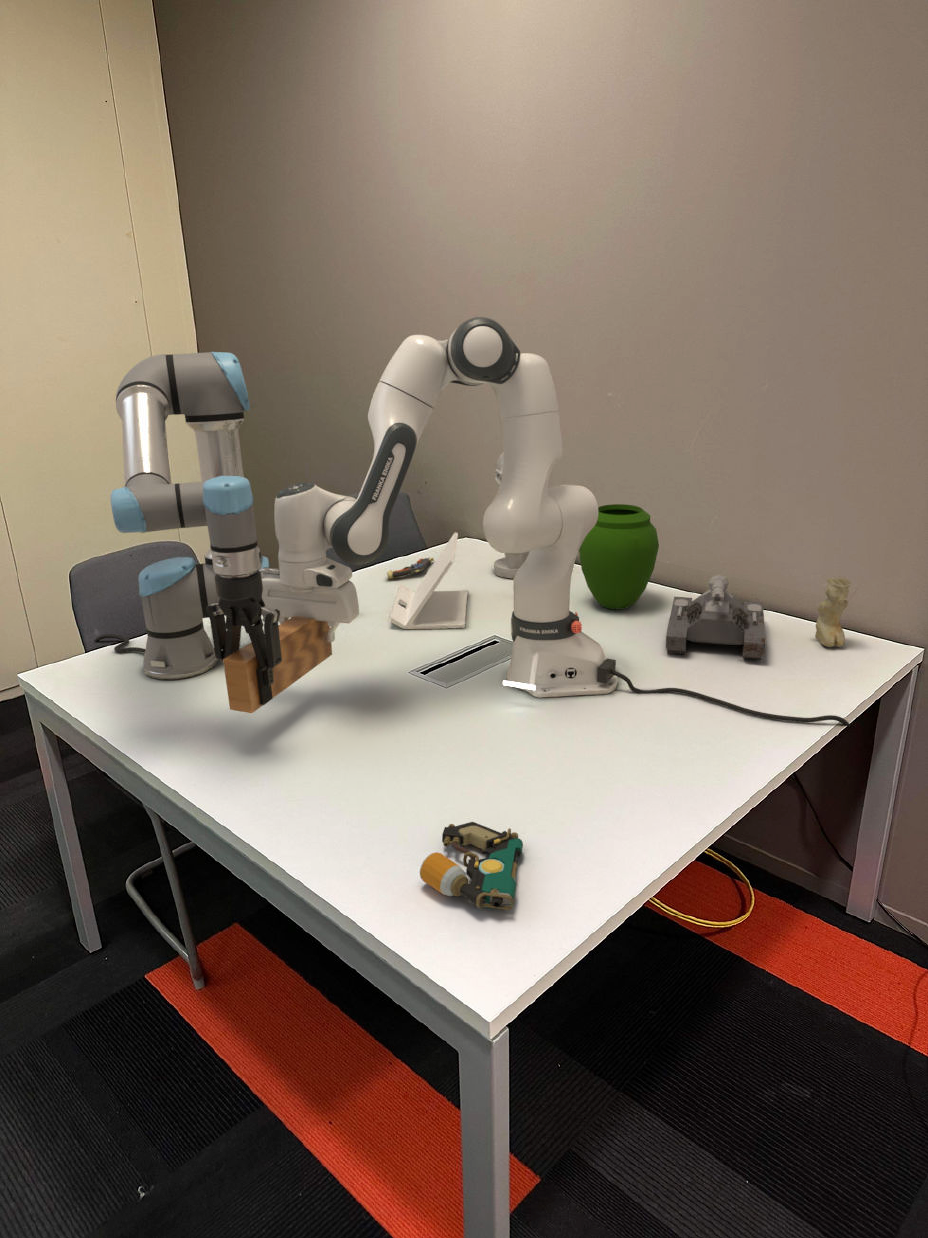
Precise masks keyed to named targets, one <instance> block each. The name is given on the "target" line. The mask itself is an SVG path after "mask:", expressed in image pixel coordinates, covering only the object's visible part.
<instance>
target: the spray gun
mask: <svg viewBox="0 0 928 1238" xmlns="http://www.w3.org/2000/svg"><path fill="white" fill-rule="evenodd" d="M443 828H444V829H443V832H442V835H441V843H442V844H443V846H444V847H445V848H448V847H449V846H451V845H452V847H453V849H454V850H456V852H460V853H462V854H463V858H462V861H463V866H464V867H465V868H466V869H465V870H466V871H465V870H464V869H463V868H462V867H461V866H460V865H459V864H457V863H456V862H454V861H453V860H452V859H450V857H447V856H446V855H444V854H443V853H441V852H438V851H436V852H432V853H430V854H429V855H427V856H426V857H425V858H424V860H423V861H422V862H421V865H420V868H419V877H420V879H421V880H422V882H424V884H427V885H428V886H429V887H431V888H433V889H434V890H436V891H437V892H439V893H440V894H442V895H443V896H448V897H453V896H454V897H460V896H463V897H464V898H466V899H467V900H468V901H470V902H471V903H472V904H473V905H475V906H476V907H477V908H479V909H482V908H484V907H485V908H492V909H500V910H507V911H508V910H512V909H513V906H514V900H515V896H516V889H517V882H516V876H517V870H518V863H517V859H519V858H521V856H522V853H523V849H524V847H523V846H524V843H523V840H522V839H521V838H519V834H518V833H517V832H515V831H513V832H512V828H510V827H509V828H508V829H507V831H506V830H504V831H502V832H500V831H497V830H495V829H493V828H491V827H487V826H485V825H482V824H481V823H477V822H475V821H470V822H466V823H463V824H459V825H455V824H454V823H449V824H448V826H444V827H443ZM470 844H471V845H473V846H475V847H477V848H479V849H481V850H480V853H481V854H483V855H484V854H486V855H488V857H484V858H480V856H479V855H478V854H476V853H475V852H472V851H471V850H469V849H467V848H465V847H463V846H468V845H470ZM461 845H462V846H461ZM468 858H469V859H468ZM467 859H468V860H467ZM469 879H470V882H469ZM483 902H485V903H483Z"/></svg>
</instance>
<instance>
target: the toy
mask: <svg viewBox="0 0 928 1238" xmlns="http://www.w3.org/2000/svg"><path fill="white" fill-rule="evenodd" d="M728 587H729V581H728V579H727V577H726V576H724V575H723V574H715V575H714V576H713V577H711V578H710V579H709V582H708V588H709V589H708V590H706V591H704V592H703V593H702V594H701V595H699V596H697V597H695V599H693V597H687V596H673V601H672V605H671V609H670V615H669V619H668V623H667V630H666V635H665V649H666V652H667V653H668V654H681V655H686V648H687V641H689V642H693V643H704V644H713V645H714V644H716V645H728V646H740V645H742V658H744V659H753V660H762V659H763V658H764V655H765V649H766V626H765V613H764V603H763V602H760V601H759V602H758V601H748V600H747V601H745V600H744V601H743V603H742V602H741V601H740V600H739V599H738V598H737V597H735V595H733V594H732V593H730V592H729V591H728V590H727V589H728Z"/></svg>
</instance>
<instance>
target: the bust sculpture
mask: <svg viewBox="0 0 928 1238" xmlns="http://www.w3.org/2000/svg"><path fill="white" fill-rule="evenodd" d="M503 466H504V453H503V452H501V454H500V455H499V457H498V459H497V461H496V468H495V471H494V480H495V482H496V484H497V486H498V487H499V486H500V483H501V479H502V474H503ZM529 552H530V551H528V552H524V553H504V557H502V558H498V559H496V560H495V561H494V562H493V573H494V574H495V575H496V576H497V577H500V578H506V579H514V576H515V574H516V572H517V570H518V569H519V567H520V566H521V565H522V564H523V563H524V562H525V560H526V558H527V557H528V554H529Z"/></svg>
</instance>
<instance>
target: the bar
mask: <svg viewBox="0 0 928 1238" xmlns="http://www.w3.org/2000/svg"><path fill="white" fill-rule="evenodd" d="M278 626H279V636H280V645H281V655H282V662H281V663H279V664H278V665H276V666H275V667H273V677H274V683H273V684H272V685H271V688H272V696H273V699H274V698H276V697H277V696H278V695H280V694H281V693H282V692H284V691H285V690H286V689H288V688H289V687H290V686H292V685H293V684H294V683H296V682H297V681H298V680H300V679H301V678H302V677H304V676H305V675H307V674H308V673H309V672H310V671H312V670H314V669H315V668H316V667H318V665H320V664H321V663H322V662H324V661H326V660H327V659H328V658H329V657H331V656H332V655H333V648H332V642H325V641H324V633H326V631H329V629H330V627H331V626H328V622H327V621H318V620H315V618H306V617H295V616H293V617H292V618H289V619H288V620H287V621H285V622H283V623H282V624H280V623H279V624H278ZM222 662H223V669H224V675H225V683H226V691H227V698H228V704H229V711H236V712H241V713H245V714H254V713H255V712H256V711H257V710H259V709H260V708H262V707H264V705H260V698H259V690H258V682H257V674H256V670H257V669H258V668H259V664H258V661H257V658H256V655H255V652H254V649H253V646H252V643H251V642H249V643H248V644H245V645H244V646H243V647H241V648H240V649H239V650H238V651H236V652H234V653H233V654H231V655H230V656H228V657H226V658H225V659H223V660H222Z"/></svg>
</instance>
